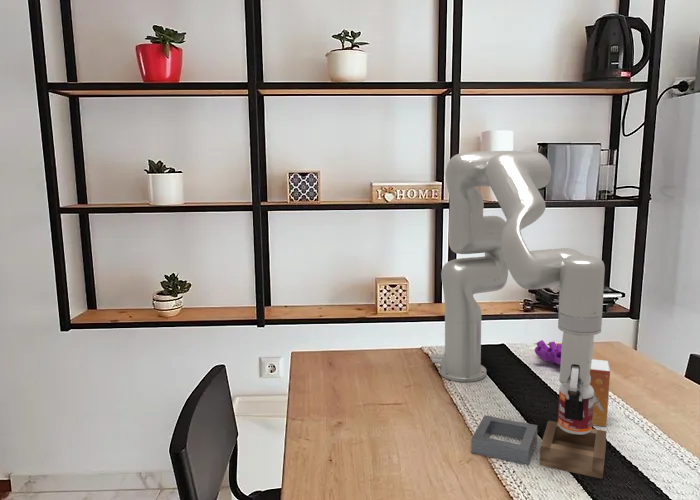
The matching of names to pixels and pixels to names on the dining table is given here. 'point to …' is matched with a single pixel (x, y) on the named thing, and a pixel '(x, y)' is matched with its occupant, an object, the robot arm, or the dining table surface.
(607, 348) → the dining table surface
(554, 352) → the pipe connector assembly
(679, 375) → the dining table surface
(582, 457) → the tray
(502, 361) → the dining table surface
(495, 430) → the socket block
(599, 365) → the small box
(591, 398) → the pill bottle
